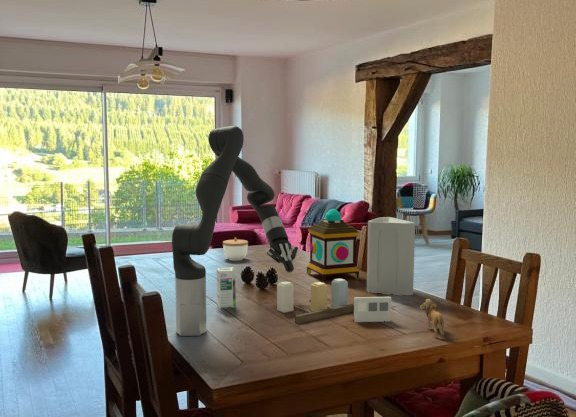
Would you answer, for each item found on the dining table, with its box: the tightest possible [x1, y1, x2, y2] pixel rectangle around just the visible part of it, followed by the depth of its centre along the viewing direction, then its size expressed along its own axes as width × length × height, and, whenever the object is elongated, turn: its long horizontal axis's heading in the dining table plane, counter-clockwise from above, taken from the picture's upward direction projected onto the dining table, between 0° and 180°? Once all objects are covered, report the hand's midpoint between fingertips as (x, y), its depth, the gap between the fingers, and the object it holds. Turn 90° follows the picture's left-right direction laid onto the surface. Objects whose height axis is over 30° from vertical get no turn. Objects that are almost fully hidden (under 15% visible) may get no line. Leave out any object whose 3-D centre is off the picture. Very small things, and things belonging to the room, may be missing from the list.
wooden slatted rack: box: [293, 299, 354, 325], centre depth 193 cm, size 20×28×4 cm
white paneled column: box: [366, 216, 416, 296], centre depth 222 cm, size 19×15×28 cm
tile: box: [353, 296, 392, 323], centre depth 183 cm, size 1×12×8 cm, turn 94°
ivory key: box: [276, 281, 295, 313], centre depth 191 cm, size 4×4×10 cm
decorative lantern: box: [306, 208, 360, 283], centre depth 245 cm, size 20×20×30 cm
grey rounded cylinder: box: [330, 278, 349, 308], centre depth 195 cm, size 4×4×10 cm
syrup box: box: [216, 266, 237, 310], centre depth 196 cm, size 6×6×14 cm
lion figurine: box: [419, 298, 447, 339], centre depth 173 cm, size 15×5×9 cm, turn 9°
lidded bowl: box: [222, 237, 249, 262], centre depth 283 cm, size 13×13×11 cm
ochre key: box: [310, 281, 328, 312], centre depth 190 cm, size 4×4×10 cm
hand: (290, 271), depth 201 cm, fingers closed
